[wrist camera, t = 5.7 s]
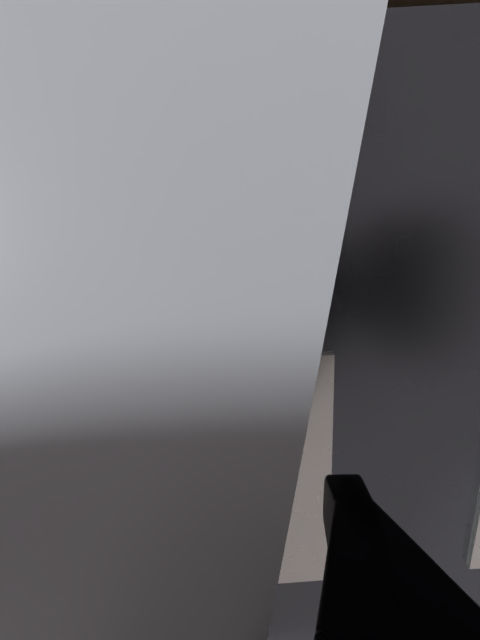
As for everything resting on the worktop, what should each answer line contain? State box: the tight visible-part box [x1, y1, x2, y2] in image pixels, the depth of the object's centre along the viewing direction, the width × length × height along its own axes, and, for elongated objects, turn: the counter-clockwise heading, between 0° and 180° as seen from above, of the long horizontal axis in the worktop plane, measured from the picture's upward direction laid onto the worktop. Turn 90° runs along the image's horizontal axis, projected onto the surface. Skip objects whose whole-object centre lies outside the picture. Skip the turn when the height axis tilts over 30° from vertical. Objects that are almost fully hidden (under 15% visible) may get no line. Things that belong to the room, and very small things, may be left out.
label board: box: [267, 3, 480, 640], centre depth 10 cm, size 24×16×2 cm
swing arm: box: [0, 0, 388, 640], centre depth 6 cm, size 20×4×4 cm, turn 174°
